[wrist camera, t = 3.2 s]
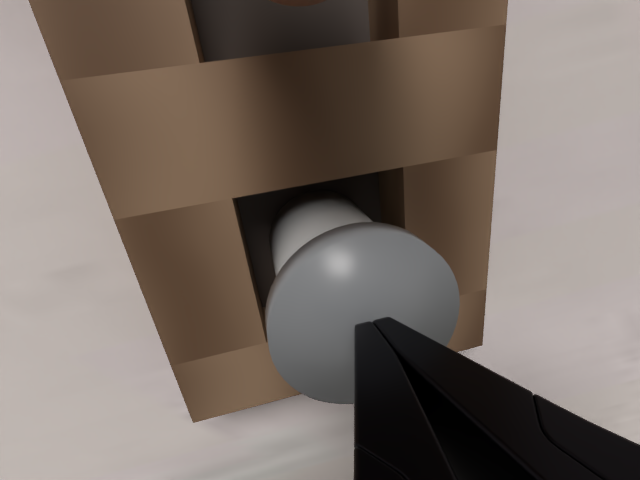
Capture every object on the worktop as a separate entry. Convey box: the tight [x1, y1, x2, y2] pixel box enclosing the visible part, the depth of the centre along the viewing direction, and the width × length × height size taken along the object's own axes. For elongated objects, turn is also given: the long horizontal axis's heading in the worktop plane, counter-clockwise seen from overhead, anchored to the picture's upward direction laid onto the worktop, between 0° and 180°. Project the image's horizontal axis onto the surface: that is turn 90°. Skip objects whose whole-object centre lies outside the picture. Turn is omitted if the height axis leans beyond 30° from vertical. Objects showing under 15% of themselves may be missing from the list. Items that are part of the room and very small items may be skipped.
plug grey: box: [265, 190, 460, 404], centre depth 11 cm, size 5×5×6 cm
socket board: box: [29, 0, 508, 423], centre depth 11 cm, size 12×20×2 cm, turn 7°
